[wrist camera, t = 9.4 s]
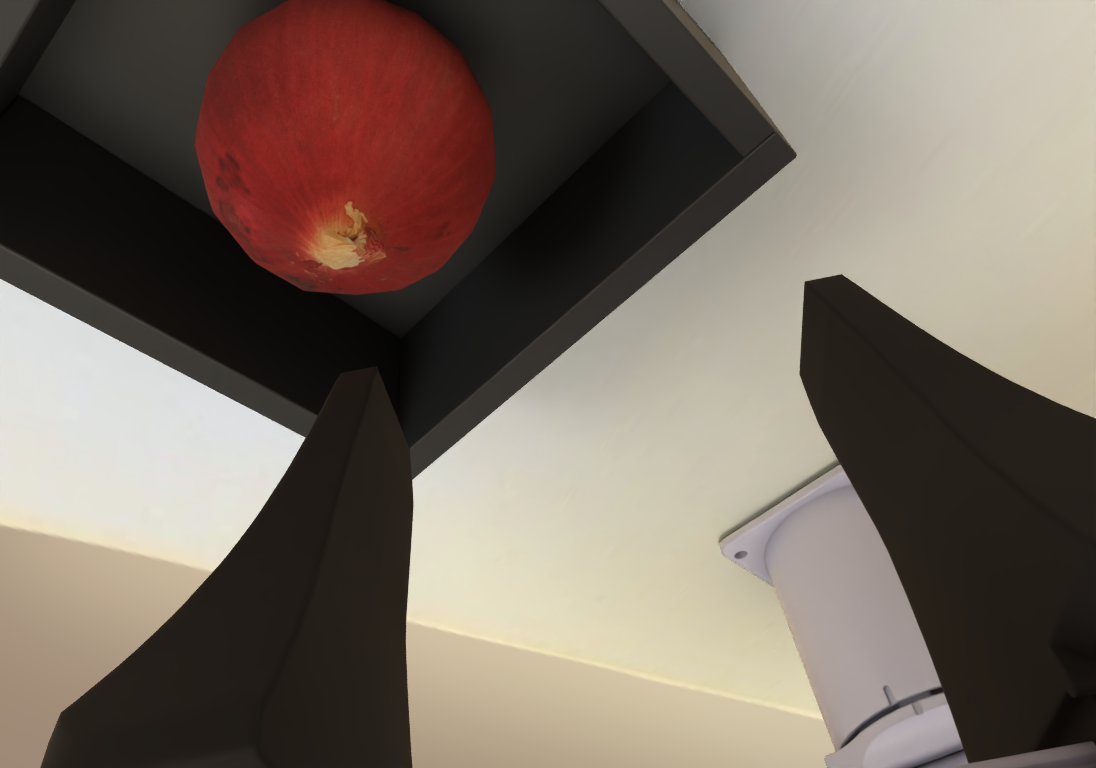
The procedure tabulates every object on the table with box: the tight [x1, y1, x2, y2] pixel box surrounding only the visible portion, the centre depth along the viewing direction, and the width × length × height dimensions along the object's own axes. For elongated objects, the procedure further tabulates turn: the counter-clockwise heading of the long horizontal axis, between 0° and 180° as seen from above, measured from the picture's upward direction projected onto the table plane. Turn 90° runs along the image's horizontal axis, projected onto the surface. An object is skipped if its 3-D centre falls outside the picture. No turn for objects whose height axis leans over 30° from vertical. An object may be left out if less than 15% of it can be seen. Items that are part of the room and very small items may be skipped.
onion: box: [194, 0, 496, 295], centre depth 17 cm, size 6×6×8 cm
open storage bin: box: [0, 0, 797, 479], centre depth 18 cm, size 13×13×6 cm
